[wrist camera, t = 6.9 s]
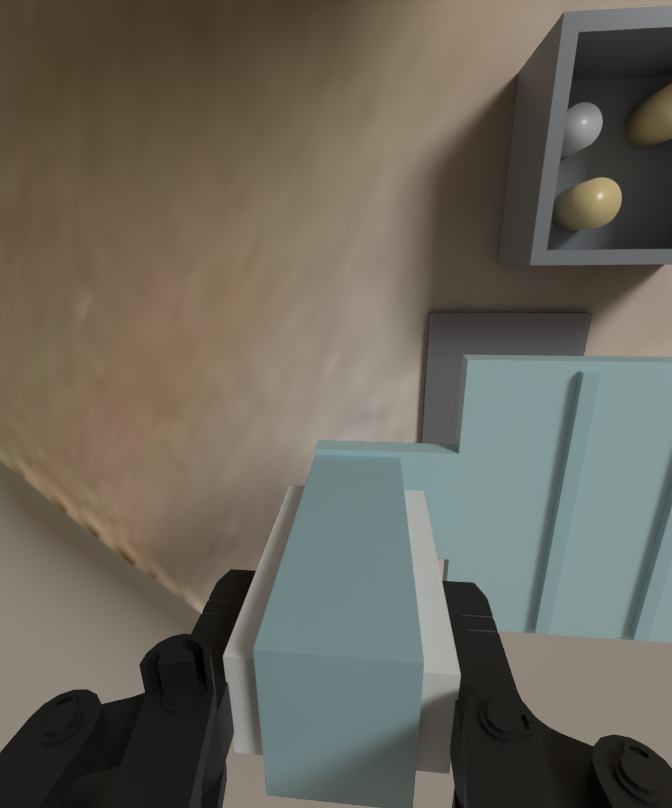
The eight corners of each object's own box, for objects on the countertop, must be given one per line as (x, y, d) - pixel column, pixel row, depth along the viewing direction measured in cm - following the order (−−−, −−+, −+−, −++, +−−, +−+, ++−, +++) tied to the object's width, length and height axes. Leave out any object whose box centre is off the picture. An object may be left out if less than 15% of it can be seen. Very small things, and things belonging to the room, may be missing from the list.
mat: (429, 312, 28) (430, 312, 27) (588, 312, 27) (591, 313, 26) (420, 449, 31) (421, 452, 31) (562, 454, 30) (564, 457, 30)
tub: (518, 71, 23) (564, 12, 17) (714, 62, 22) (829, -4, 17) (497, 263, 26) (529, 265, 21) (667, 262, 25) (749, 263, 20)
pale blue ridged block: (316, 352, 15) (235, 474, 6) (821, 358, 13) (1570, 524, 5) (322, 603, 18) (275, 891, 10) (720, 629, 17) (1058, 992, 8)
